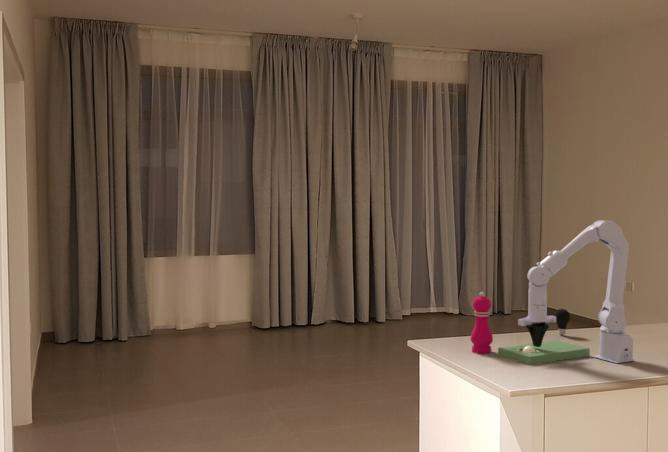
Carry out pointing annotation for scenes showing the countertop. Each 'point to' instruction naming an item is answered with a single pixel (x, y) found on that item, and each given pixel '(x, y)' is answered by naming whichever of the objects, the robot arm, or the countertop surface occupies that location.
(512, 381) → the countertop surface
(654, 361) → the countertop surface
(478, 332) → the pepper mill
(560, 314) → the light bulb
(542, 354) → the putting mat
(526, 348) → the golf ball
